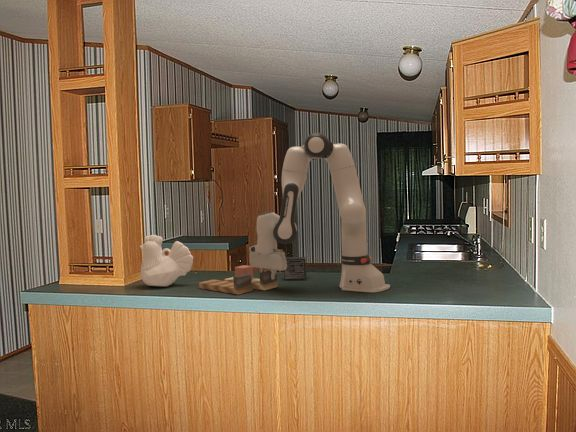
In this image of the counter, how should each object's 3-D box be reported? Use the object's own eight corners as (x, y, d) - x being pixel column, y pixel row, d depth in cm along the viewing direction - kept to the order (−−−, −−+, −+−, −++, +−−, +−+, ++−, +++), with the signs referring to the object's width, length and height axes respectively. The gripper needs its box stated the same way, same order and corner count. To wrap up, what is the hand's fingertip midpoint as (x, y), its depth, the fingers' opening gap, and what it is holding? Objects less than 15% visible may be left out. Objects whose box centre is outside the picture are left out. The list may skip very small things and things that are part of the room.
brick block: (253, 278, 262) (253, 266, 261) (244, 281, 257) (243, 268, 257) (244, 277, 266) (244, 265, 265) (235, 279, 261) (234, 267, 261)
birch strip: (278, 286, 254) (277, 270, 253) (264, 290, 247) (263, 273, 247) (238, 280, 271) (237, 265, 270) (224, 284, 264) (223, 268, 264)
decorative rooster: (135, 289, 262) (131, 237, 260) (151, 282, 277) (147, 232, 275) (185, 290, 256) (181, 236, 254) (198, 282, 271) (195, 232, 269)
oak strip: (252, 290, 248) (251, 273, 247) (238, 294, 241) (237, 277, 240) (213, 284, 265) (212, 268, 264) (199, 288, 258) (198, 272, 258)
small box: (306, 277, 274) (306, 256, 273) (305, 280, 268) (305, 258, 267) (285, 277, 275) (284, 256, 274) (284, 280, 269) (283, 259, 268)
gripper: (289, 248, 246) (290, 279, 247) (256, 245, 259) (257, 275, 260) (279, 250, 241) (281, 282, 242) (246, 247, 254) (247, 277, 256)
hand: (268, 278), depth 251 cm, fingers closed on birch strip, 3 cm apart
